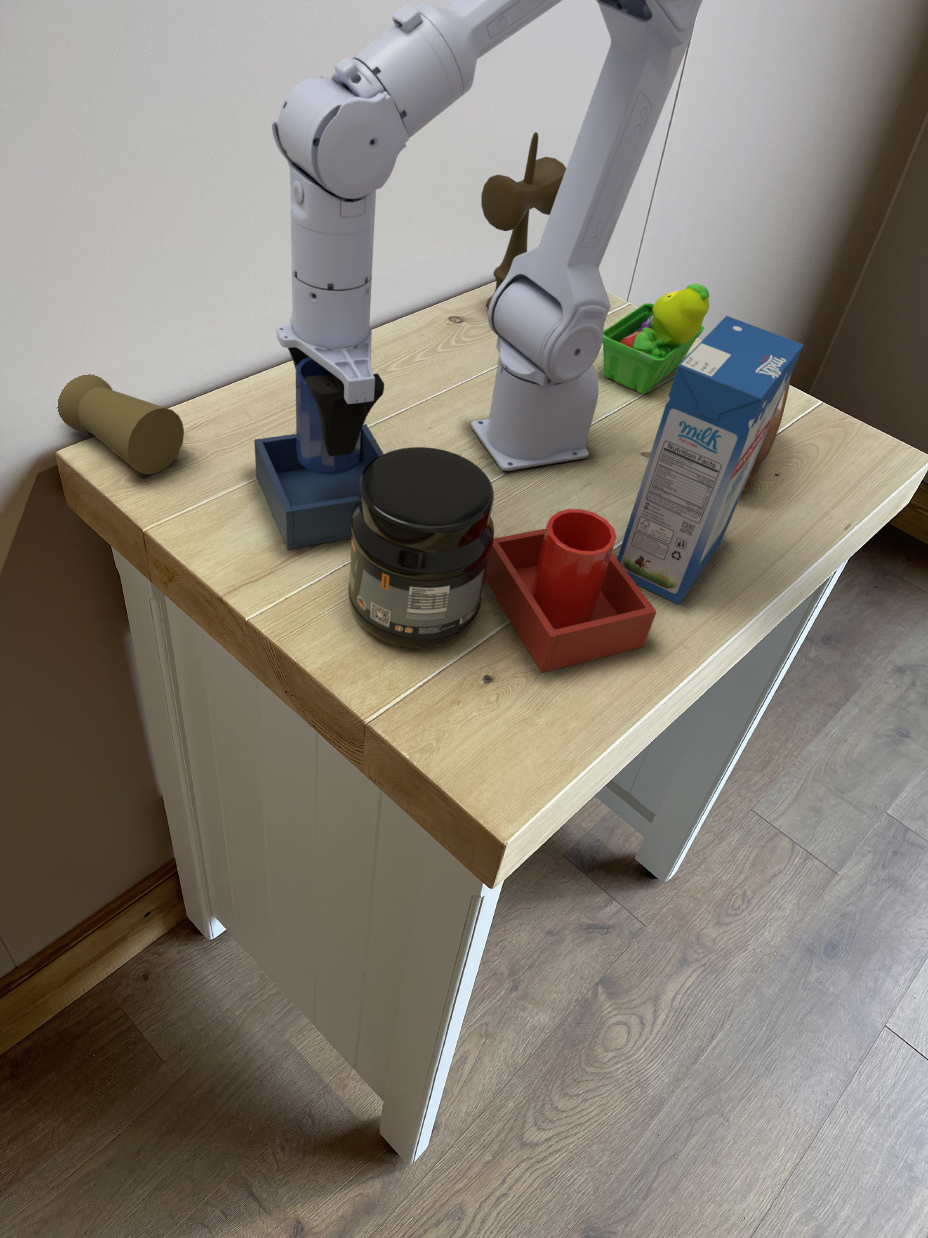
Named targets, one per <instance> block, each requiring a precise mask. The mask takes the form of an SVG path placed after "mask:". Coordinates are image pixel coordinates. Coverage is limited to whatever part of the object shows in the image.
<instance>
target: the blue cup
mask: <svg viewBox="0 0 928 1238" xmlns="http://www.w3.org/2000/svg"><path fill="white" fill-rule="evenodd" d="M327 374H331V375H332V373H331V372H329V371H328V370H327V369H325V368H324V367H323V366H321V365H320V364H319V363H317V362H316V361H315V360H313V359H312V358H310V357H308V358H305V359H303V360H301V362H300V363H299V364H298V365H297V366H296V369H295V430H296V431H295V432H296V433H295V434H296V443H297V458H298V461H299V462H300V464H301V465H302V466H304V467H305V468H306V469H308V470H310V471H313V472H315V473H319V474H327V475H333V474H341V473H344V472H347V471H349V470H351V469H353V468H354V467H355V466H356V465H357V463H358V462H359V457H360V440H361V432H360V435H359V438H358V441H357V444H356V447H355V449H354V452H353V453H351V454H344V455H337V456H329V454H328V453H327V450H326V447H325V444H324V440H323V434H322V426H321V419H320V414H319V410H318V407H317V404H316V401H315V399H314V396H313V395H312V393H311V391H310V389H309V387H308V386H307V384H306V382H305V378H306V377H310V376H318V375H327Z"/></svg>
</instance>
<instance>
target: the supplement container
mask: <svg viewBox="0 0 928 1238" xmlns="http://www.w3.org/2000/svg"><path fill="white" fill-rule="evenodd" d="M494 491H495V490H494V487H493V484H492V482H491V480H490V478H489V477H488V476H487V474H486V472H485V471H483V470H482V469H481V468H480V467H479V466H478V465H476V464H475V462H473V461H471V460H470V459H467V458H466V457H464V456H462V455H459V454H458V453H454V452H452V451H449V450H446V449H440V448H436V447H424V446H413V447H411V446H410V447H404V448H398V449H393V450H391V451H388V452H385V453H383V455H381V456H379V457H377V458H376V459H374V460H373V461H372V462H370V463H369V464H368V465H367V466H366V468H365V469H364V471H363V472H362V474H361V477H360V481H359V497H358V501H357V503H356V504H355V506H354V508H353V511H352V514H351V519H350V531H351V538H350V539H351V540H350V560H349V563H350V564H349V565H350V566H349V581H348V586H347V597H348V604H349V607H350V610H351V611H352V614H353V617H354V618H355V619H356V621H357V622H358V623H359V625H360V626H362V627H363V628H364V630H366V631H367V632H368V633H370V634H371V635H373V636H374V637H376V638H377V639H379V640H381V641H384V642H386V643H389V644H392V645H394V646H399V647H403V648H412V649H425V648H434V647H439V646H443V645H445V644H448V643H450V642H453V641H455V640H456V639H458V638H460V637H461V636H463V635H464V634H465V633H466V632H467V631H468V630H469V629H470V628H471V627H472V626H473V625H474V623H475V622H476V620H477V618H478V616H479V614H480V610H481V606H482V595H483V589H484V584H485V574H486V568H487V563H488V557H489V552H490V550H491V548H492V544H493V540H494V538H495V525H494V521H493V518H492V511H493V506H494V500H495V492H494Z"/></svg>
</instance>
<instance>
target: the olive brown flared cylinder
mask: <svg viewBox="0 0 928 1238" xmlns="http://www.w3.org/2000/svg"><path fill="white" fill-rule="evenodd" d="M91 374H92V373H90V375H89V374H88V375H82V376H79V377H77V378H74V379H73V380H71V381H70V382H69V383H67V385H66V386H65V387H64V389H63V390H62V392H61V394H60V396H59V399H58V407H57V408H58V412H59V414H58V416H59V415H60V416H59V417H60V419H61V418H62V419H61V421H62V422H63V423H64V424H65V425H67V426H69V427H70V428H72V429H73V430H75V431H80V432H84V433H90V434H91V435H93V436H94V437H95V438H96V439H98V440H99V441H100V442H101V443H102V444H104V445H105V446H106V447H107V448H109V449H110V450H111V451H112V452H113V453H114V454H116V455H117V456H118V457H119V458H121V459H122V460H123V461H125V462H126V464H128V465H130V466H131V467H132V468H133V469H134V470H135V471H137V472H138V473H140V474H143V475H154V474H158V473H160V472H162V471H164V470H165V469H167V468H168V467H169V466H170V465H171V464H172V463H173V462H174V461H175V460H176V458H177V456H178V455H179V453H180V451H181V448H182V446H183V442H184V435H185V430H184V429H185V428H184V423H183V421H182V419H181V417H180V415H179V414H178V413H176V411H174V410H173V409H171V408H167V407H164V406H161V405H158V404H156V403H152V402H150V401H146V400H143V399H140V398H137V397H135V396H131V395H128V394H125V393H122V392H120V391H116V390H113V388H112V386H111V385H110V384H109V382H107V381H106V380H105V379H103V378H102V377H100V376H99V377H98V375H97V376H95V375H96V374H93V375H91ZM57 408H56V409H57ZM58 412H57V413H58Z"/></svg>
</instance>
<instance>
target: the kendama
mask: <svg viewBox="0 0 928 1238" xmlns="http://www.w3.org/2000/svg"><path fill="white" fill-rule="evenodd" d="M538 146H539V133H538V132H537V131H535V132H534V133H533V134H532V137H531V140H530V145H529V150H528V155H527V159H526V165H525V171H524V176H523V179H522V180H520V181H516V180H514V179H513V178H512V177H510V176H507V175H503V174H494V175H492V176H489V178H488V179H487V180H486V182H485V183H484V184H483V187H482V192H481V195H480V196H481V197H480V199H481V200H480V202H481V205H480V206H481V209H482V214H483V216H484V219H486V221H487V222H488V224H489V225H491V226H492V227H493V228H495V229H496V230H499V231H503V232H509V231H511V234H510V238H509V241H508V245H507V248H506V251H505V254H504V257H503V259H502V261H501V263H500V264H499V265H498V266H497V267H496V268H494V270H493V276H494V278H495V289H494V292H493V294H492V295H491V296H489V298H488V299H487V301H486V303H485V307H486V308H487V311H488V310H489V305H490V302H491V299H492V297H493V295H494V293H495V292H496V290H497V289H498V288H499V286H500V285H501V284H502V282H503V281H504V280H505V278H506V277H507V275H508V273H509V270H510V268H511V265H512V262H513V259H514V258H515V257H516V256H518V255H520V254H523V253H525V252H528V235H529V220H530V210H533V209H535V210H537V211H538V212H539V213H541V214H543V215H546V216H550V213H551V210H552V207H553V204H554V202H555V199H556V196H557V193H558V190H559V188H560V185H561V182H562V179H563V177H564V174H565V171H566V168H567V166H565V164H564V163H563V162H562V161H560V160H558V159H557V158H555V157H550V156H544V157H541V158H538V159H537V157H538V156H537V155H538V148H539V147H538Z"/></svg>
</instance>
